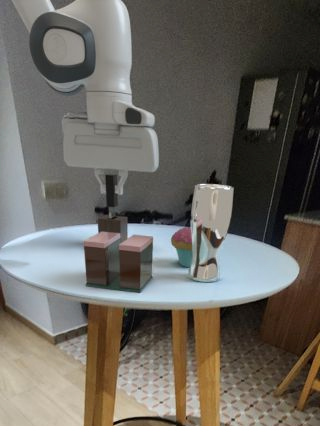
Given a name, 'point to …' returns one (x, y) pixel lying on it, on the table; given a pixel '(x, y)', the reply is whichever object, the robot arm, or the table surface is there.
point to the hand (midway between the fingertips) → (111, 193)
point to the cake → (118, 261)
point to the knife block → (114, 226)
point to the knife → (111, 194)
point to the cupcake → (183, 245)
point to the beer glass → (209, 229)
